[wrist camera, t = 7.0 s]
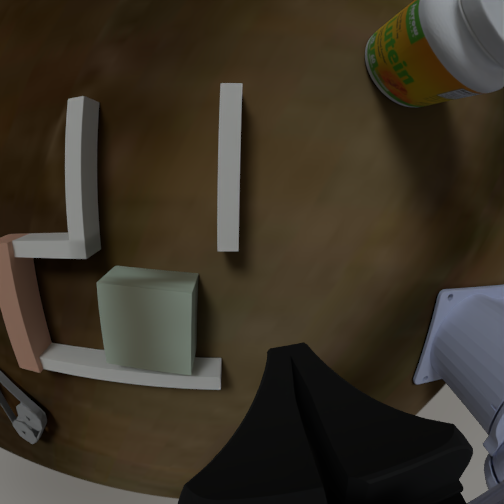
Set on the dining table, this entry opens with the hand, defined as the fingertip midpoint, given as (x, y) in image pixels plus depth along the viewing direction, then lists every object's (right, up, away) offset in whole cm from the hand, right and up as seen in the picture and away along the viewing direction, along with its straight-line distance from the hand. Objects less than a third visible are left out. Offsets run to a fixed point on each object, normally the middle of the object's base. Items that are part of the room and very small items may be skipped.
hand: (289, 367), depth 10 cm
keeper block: (-7, +1, +7) cm, 10 cm away
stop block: (-17, +1, +6) cm, 18 cm away
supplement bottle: (+8, +15, +4) cm, 18 cm away
